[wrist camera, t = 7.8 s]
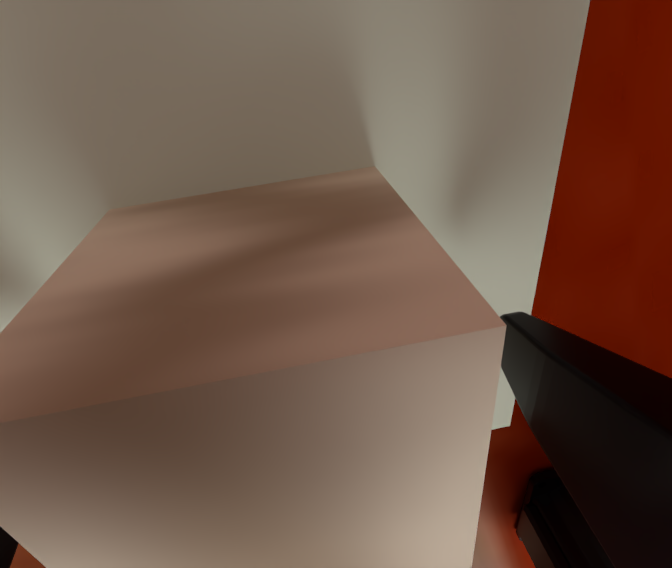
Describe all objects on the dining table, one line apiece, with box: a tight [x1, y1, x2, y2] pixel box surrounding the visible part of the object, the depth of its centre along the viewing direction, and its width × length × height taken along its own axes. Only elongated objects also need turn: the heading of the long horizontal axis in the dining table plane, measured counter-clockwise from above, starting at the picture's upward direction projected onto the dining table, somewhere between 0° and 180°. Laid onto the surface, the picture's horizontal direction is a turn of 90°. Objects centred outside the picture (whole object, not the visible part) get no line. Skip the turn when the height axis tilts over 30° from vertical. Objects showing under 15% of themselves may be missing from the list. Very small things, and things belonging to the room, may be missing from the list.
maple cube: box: [0, 166, 507, 568], centre depth 7 cm, size 6×6×6 cm
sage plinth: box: [0, 0, 590, 430], centre depth 11 cm, size 14×14×3 cm
